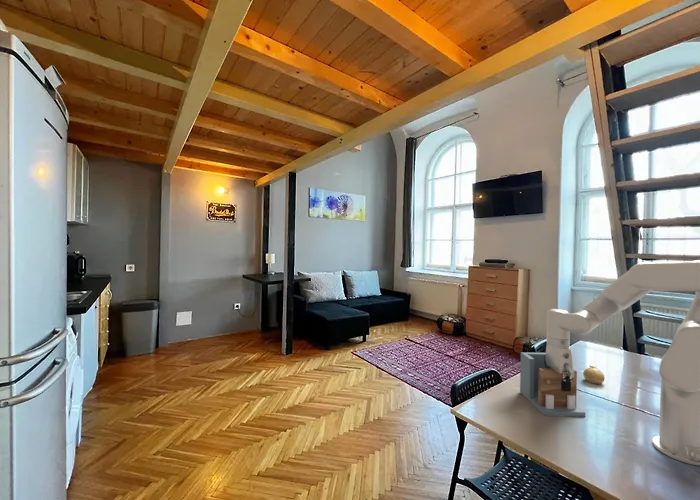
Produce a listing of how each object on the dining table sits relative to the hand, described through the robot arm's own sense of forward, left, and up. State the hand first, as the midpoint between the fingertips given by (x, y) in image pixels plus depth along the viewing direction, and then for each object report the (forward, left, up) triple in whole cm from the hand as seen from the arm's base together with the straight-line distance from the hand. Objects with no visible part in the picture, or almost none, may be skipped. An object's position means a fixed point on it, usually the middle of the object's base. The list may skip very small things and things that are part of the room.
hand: (557, 385), depth 121 cm
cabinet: (+4, 0, -10) cm, 10 cm away
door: (0, 0, -8) cm, 8 cm away
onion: (+25, -32, -10) cm, 42 cm away
